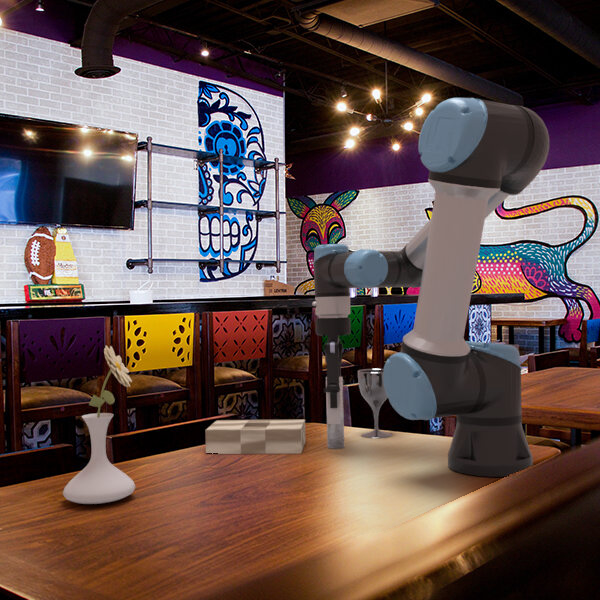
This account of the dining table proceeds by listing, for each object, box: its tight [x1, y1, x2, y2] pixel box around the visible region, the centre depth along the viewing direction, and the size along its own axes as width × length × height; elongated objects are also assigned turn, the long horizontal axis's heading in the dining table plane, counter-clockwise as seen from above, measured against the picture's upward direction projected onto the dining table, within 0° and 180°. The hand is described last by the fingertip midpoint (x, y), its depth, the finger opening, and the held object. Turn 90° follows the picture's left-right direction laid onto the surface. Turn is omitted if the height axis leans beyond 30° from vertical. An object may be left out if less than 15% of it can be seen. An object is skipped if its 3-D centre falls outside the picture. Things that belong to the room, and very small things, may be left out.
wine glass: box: [357, 368, 393, 439], centre depth 165 cm, size 8×8×15 cm
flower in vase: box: [62, 345, 136, 505], centre depth 117 cm, size 13×11×25 cm
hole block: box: [204, 418, 306, 455], centre depth 154 cm, size 12×20×5 cm, turn 85°
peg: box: [325, 376, 345, 450], centre depth 152 cm, size 4×4×15 cm
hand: (335, 418), depth 152 cm, fingers open, 11 cm apart
